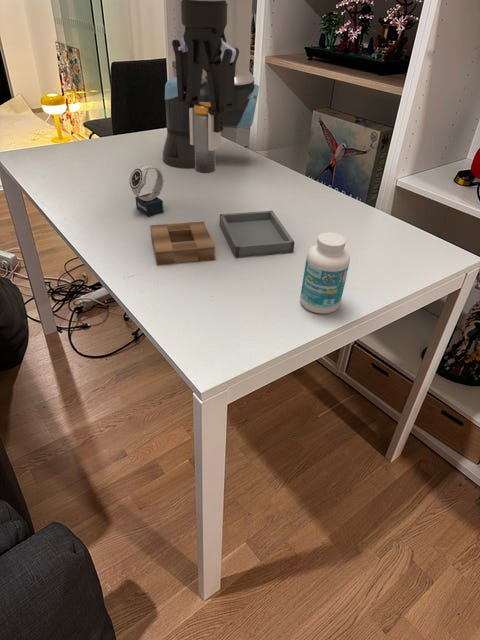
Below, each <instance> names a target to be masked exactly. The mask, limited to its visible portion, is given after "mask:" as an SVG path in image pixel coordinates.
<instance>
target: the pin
mask: <svg viewBox="0 0 480 640" xmlns="http://www.w3.org/2000/svg"><path fill="white" fill-rule="evenodd" d="M209 111H212V110H211V103H210V102H198V103H195V104H194V139H195V167H194V170H195V172H197V173H200V174H212V173H214V172H215V171H216V150H213V151H210V150H208V113H209Z"/></svg>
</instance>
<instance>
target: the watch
mask: <svg viewBox="0 0 480 640" xmlns="http://www.w3.org/2000/svg"><path fill="white" fill-rule="evenodd" d="M149 170H155V172H156V179H155V183H154V186H153V188H152V192H151V193H146V194H142V195H140V193H141V190H142V189H143V188H144V187H145V186H146V184H147V175H148V173H149ZM164 183H165V182H164V176H163V173H162V172H161V170H160V169H158V168H157V167H155V166H153V165H151V164H144V165H141V166H138V167H137V168H134V170H133V171H132V172H131V175H130V177H129V185H130V189H131V191H132V193H133V194H134V196H135V198H134V199H135V208H136V210H137V211H138V212H140V213H141V214H143V215H144V216H146V217H147V218H150V217H153V216H156V215H160V214H163V213H164V201H163V200H162V198H159V197H158V196H160V194H161V191H162V189H163V186H164Z"/></svg>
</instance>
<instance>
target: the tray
mask: <svg viewBox="0 0 480 640" xmlns="http://www.w3.org/2000/svg"><path fill="white" fill-rule="evenodd" d="M219 226H220V229H221V230H222V232H223V234H224V237H225V239H226V241H227V243H228V245H229V247H230V249H231V252H232V253H233V256H234V257H235V259H239V258H246V257H247V258H250V257H260V256H269V255H279V254H280V255H281V254H282V255H283V254H291V253H294V250H295V249H294V248H295V241H294V239H293V238H292V236H291V235H290V233H289V232H288V230H287V229H286V228H285V226H284V224H282V222H281V220H280V219H279V218H278V217H277V215H276V213H275V212H274V210H262V211H261V210H260V211H259V210H258V211H249V212H235V213H234V212H233V213H221V214H219Z"/></svg>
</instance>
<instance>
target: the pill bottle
mask: <svg viewBox="0 0 480 640" xmlns="http://www.w3.org/2000/svg"><path fill="white" fill-rule="evenodd" d="M346 242H347V241H346V238H345V237H344V236H342V235H341V234H339V233H335V232H322V233H320V234H319V235H318V236H317V240H316V244H314V245H312V246H311V247H310V248H309V249H308V251H307V253H306V257H305V264H304V265H305V266H304V270H303V271H304V272H303V278H302V284H301V289H300V296H299V297H300V298H299V299H300V303H301V304H302V306H303V307H304V308H305V309H306V310H308V311H309V312H313V313H317V314H322V315H323V314H330V313H333V312H335V311H337V310H338V309H339V307H340V305H341V303H342V297H343V293H344V289H345V285H346V284H345V283H346V279H347V276H348V271H349V267H350V262H351V261H350V260H351V256H350V253H349V252H348V250H346V247H345V246H346Z"/></svg>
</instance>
